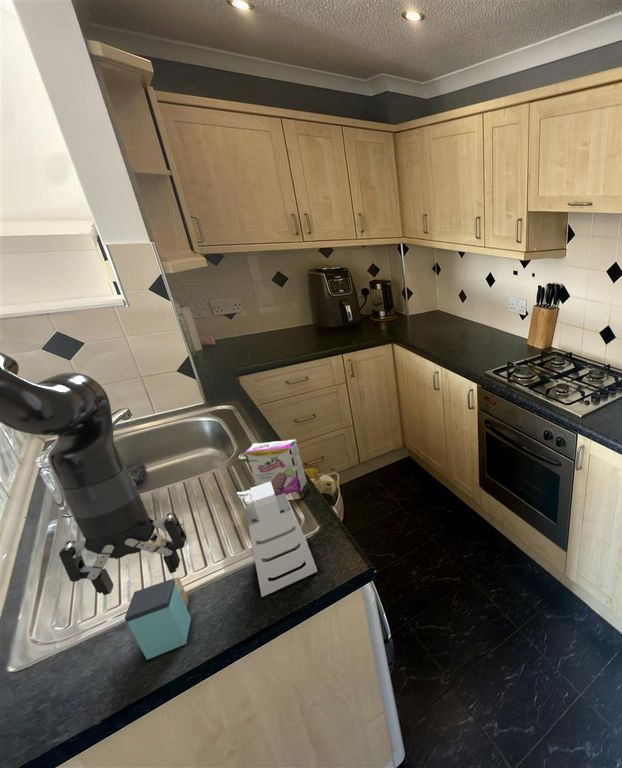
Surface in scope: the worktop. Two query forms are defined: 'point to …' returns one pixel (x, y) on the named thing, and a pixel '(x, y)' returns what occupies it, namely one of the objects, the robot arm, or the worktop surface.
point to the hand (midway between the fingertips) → (142, 579)
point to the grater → (276, 540)
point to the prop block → (181, 591)
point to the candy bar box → (277, 465)
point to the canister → (158, 618)
